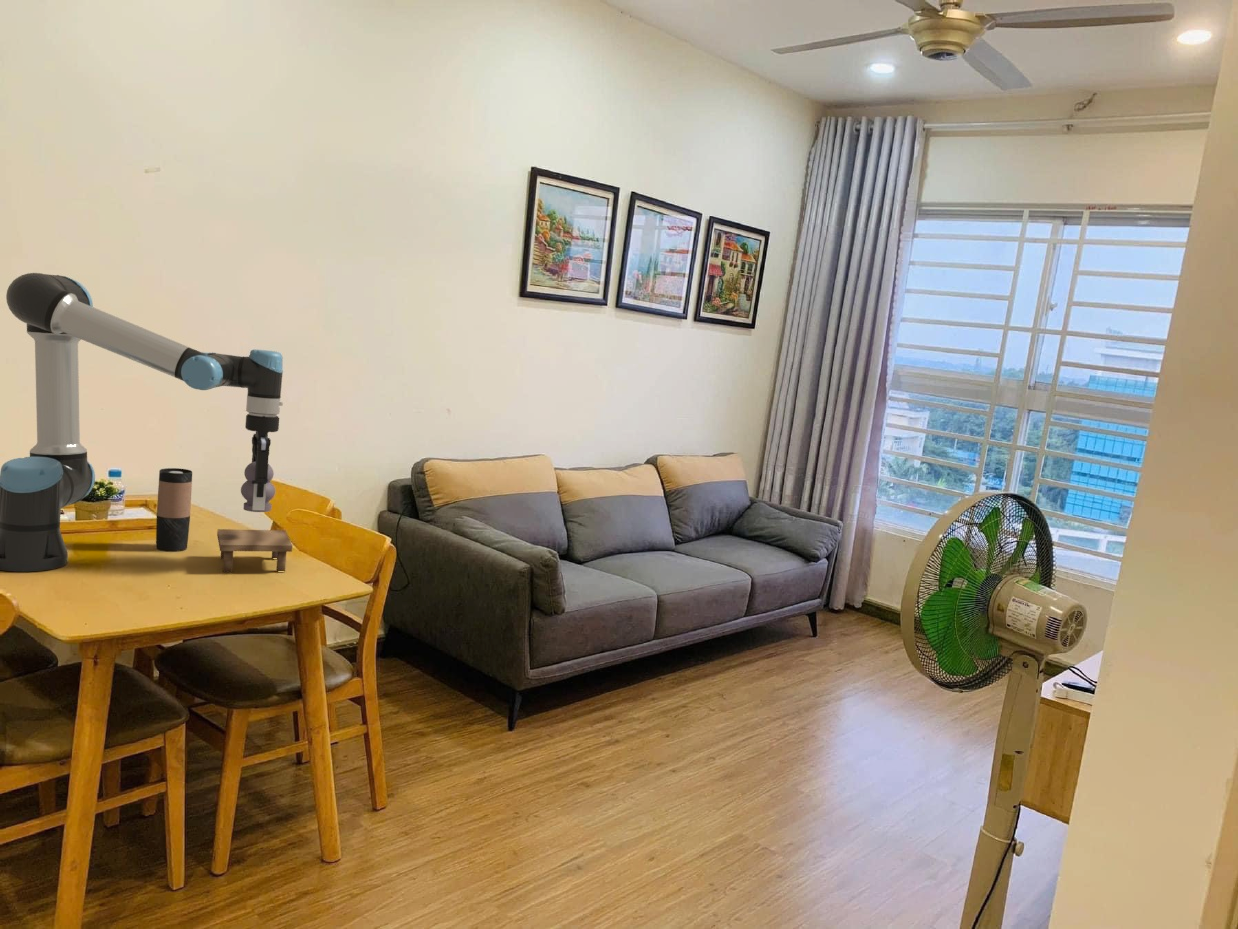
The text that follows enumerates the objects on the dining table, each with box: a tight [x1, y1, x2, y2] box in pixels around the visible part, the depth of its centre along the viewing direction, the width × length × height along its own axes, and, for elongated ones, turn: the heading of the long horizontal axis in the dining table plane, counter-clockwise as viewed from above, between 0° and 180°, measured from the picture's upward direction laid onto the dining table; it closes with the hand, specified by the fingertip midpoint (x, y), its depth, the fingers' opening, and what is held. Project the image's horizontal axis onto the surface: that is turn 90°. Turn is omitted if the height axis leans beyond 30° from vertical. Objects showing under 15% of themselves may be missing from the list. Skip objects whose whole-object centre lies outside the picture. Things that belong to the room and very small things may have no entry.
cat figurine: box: [240, 461, 276, 513], centre depth 222 cm, size 8×8×12 cm
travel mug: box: [155, 467, 193, 553], centre depth 230 cm, size 8×8×20 cm
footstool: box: [216, 528, 293, 574], centre depth 225 cm, size 16×16×7 cm
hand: (256, 506), depth 223 cm, fingers closed on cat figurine, 8 cm apart
